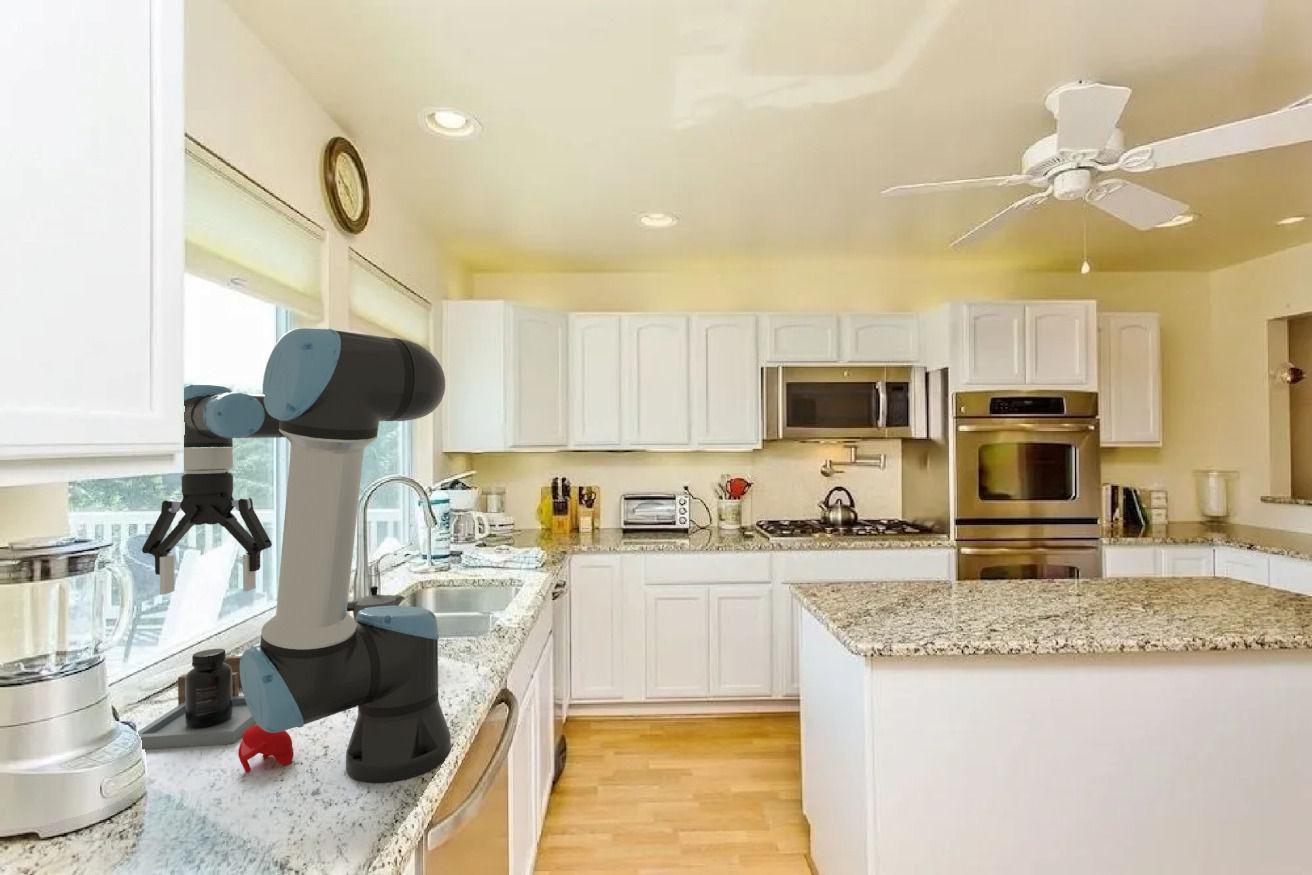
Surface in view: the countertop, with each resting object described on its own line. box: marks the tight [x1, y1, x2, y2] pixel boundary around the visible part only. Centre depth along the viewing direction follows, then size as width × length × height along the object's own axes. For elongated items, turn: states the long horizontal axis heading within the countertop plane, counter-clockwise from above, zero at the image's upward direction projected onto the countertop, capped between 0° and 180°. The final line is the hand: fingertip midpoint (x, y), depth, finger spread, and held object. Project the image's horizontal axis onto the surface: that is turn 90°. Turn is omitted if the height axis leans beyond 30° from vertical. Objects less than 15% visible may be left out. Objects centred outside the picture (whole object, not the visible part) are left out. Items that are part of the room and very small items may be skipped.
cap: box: [238, 724, 294, 773], centre depth 98 cm, size 8×6×6 cm
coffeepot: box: [347, 585, 405, 623], centre depth 139 cm, size 15×9×18 cm, turn 134°
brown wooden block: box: [177, 655, 242, 706], centre depth 125 cm, size 11×10×6 cm
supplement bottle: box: [185, 648, 233, 728], centre depth 112 cm, size 7×7×12 cm
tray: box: [137, 695, 257, 750], centre depth 112 cm, size 16×16×2 cm
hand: (208, 591), depth 113 cm, fingers open, 13 cm apart
